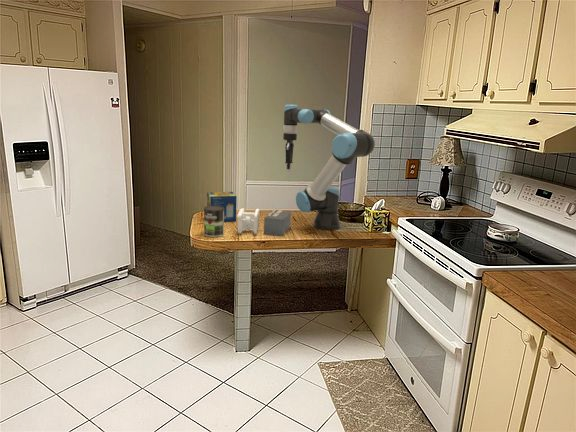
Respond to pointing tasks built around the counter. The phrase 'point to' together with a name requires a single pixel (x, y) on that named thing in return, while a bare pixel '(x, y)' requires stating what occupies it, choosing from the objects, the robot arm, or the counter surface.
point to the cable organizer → (248, 221)
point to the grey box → (277, 222)
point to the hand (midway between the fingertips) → (288, 174)
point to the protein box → (224, 203)
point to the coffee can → (213, 221)
